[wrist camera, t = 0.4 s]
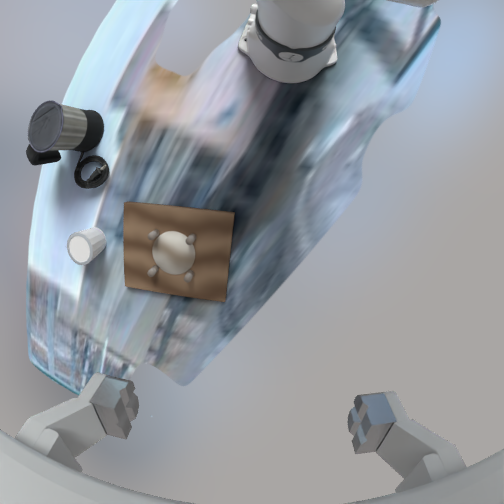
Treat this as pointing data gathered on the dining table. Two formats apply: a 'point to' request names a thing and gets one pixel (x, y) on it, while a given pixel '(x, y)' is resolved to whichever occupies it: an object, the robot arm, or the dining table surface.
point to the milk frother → (66, 138)
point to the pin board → (177, 249)
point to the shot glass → (86, 245)
